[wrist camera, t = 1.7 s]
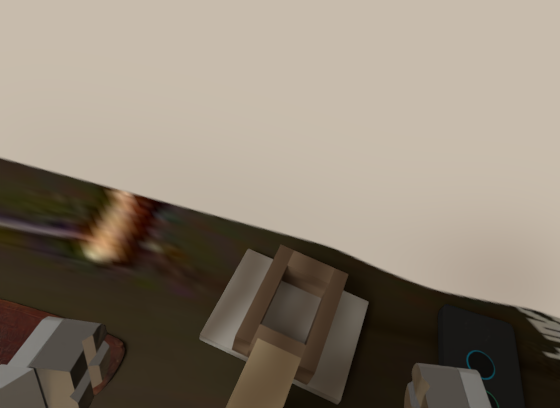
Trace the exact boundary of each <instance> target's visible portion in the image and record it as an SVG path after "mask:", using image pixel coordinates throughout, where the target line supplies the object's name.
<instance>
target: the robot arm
mask: <svg viewBox="0 0 560 408" xmlns="http://www.w3.org/2000/svg"><path fill="white" fill-rule="evenodd" d="M106 336H107V330H106V326H105V325H103V324H99V323H92V322H86V321H79V320H72V319H65V318H58V317H51V316H48V317H46V318H44V319H43V320H42V321H41V322H40V323H39V325H38V326H37V327H36V328H35V330H34V331H33V332H32V334H31V335H30V336H29V337H28V339H27V340H26V341H25V343H24V344H23V345H22V346H21V348H20V349H19V350H18V351H17V353H16V354H15V355H14V357H13V358H12V359H11V360H10V362H9V363H8V364H7V365H4V364H1V365H0V408H89V406H90V404H91V402H92V400H93V399H94V393H93V388H94V387H96V386H97V385H98V384H100V383H101V382H102V381H103V379H104V377H105V375H106V373H107V371H108V367H109V363H110V355H111V352H110V346H109V345H108V344H107V343H106V342H105V341H104V339H105V337H106ZM411 373H412V378H413V381H412V382H410V383H409V384H408V385H407V388H406V392H405V400H404V408H492V407H491V404H490V401H489V399H488V396H487V393H486V390H485V387H484V385H483V382H482V379H481V376H480V374H479V372H478V371H477V370H472V369H464V368H455V367H449V366H440V365H431V364H422V363H416V364H415V365H414V366H413V369H412V372H411Z"/></svg>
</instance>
